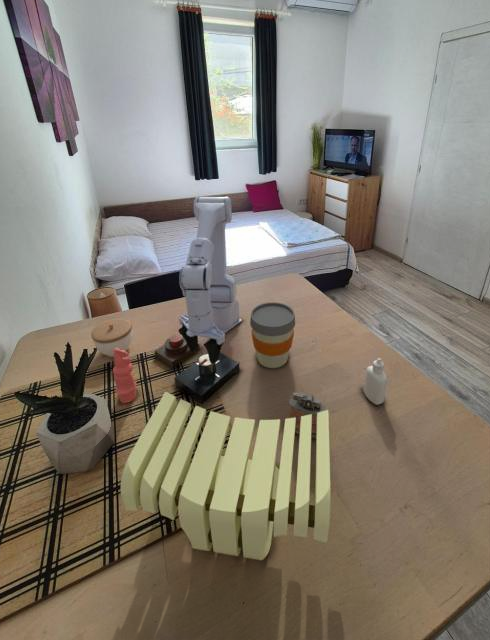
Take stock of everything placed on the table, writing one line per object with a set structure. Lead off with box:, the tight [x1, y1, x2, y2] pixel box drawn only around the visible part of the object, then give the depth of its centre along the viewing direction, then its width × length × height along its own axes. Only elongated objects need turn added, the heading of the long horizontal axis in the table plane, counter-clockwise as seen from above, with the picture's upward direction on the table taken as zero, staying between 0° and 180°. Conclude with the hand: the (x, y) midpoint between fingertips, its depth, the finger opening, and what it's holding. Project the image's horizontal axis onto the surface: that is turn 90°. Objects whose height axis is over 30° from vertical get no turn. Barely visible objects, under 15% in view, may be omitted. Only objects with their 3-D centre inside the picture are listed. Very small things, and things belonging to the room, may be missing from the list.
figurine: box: [112, 348, 138, 404], centre depth 79 cm, size 5×5×15 cm
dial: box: [197, 353, 216, 376], centre depth 85 cm, size 4×4×4 cm
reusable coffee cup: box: [249, 301, 296, 369], centre depth 92 cm, size 13×13×15 cm
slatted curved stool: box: [120, 391, 331, 561], centre depth 55 cm, size 30×16×18 cm, turn 82°
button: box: [169, 333, 183, 347], centre depth 95 cm, size 4×4×2 cm
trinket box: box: [90, 318, 134, 358], centre depth 96 cm, size 11×11×9 cm
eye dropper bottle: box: [362, 357, 388, 406], centre depth 79 cm, size 4×6×12 cm
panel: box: [173, 352, 241, 406], centre depth 86 cm, size 14×10×3 cm
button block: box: [154, 333, 200, 369], centre depth 96 cm, size 10×8×4 cm
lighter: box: [288, 392, 327, 439], centre depth 71 cm, size 8×3×10 cm, turn 71°
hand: (203, 355), depth 84 cm, fingers open, 7 cm apart
